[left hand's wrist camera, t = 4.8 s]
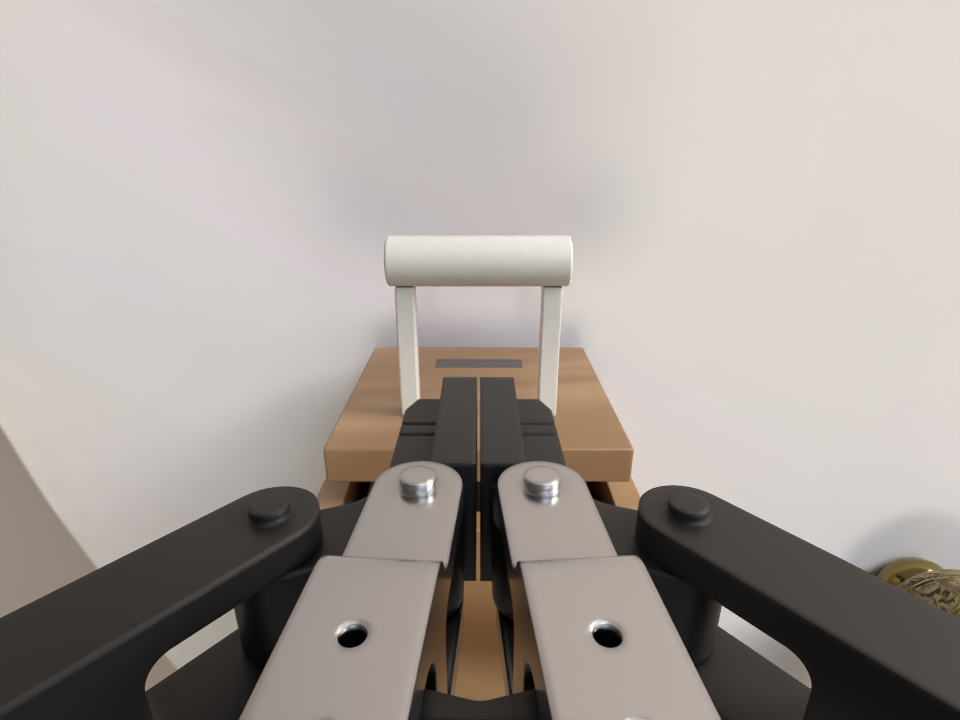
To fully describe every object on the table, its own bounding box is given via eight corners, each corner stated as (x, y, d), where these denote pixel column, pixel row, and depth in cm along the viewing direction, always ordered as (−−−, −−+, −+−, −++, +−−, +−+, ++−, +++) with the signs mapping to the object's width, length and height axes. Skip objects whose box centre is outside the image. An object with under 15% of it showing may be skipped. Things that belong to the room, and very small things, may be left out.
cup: (940, 497, 29) (1097, 619, 22) (993, 585, 31) (1153, 724, 24) (808, 570, 31) (913, 705, 24) (867, 648, 33) (980, 796, 26)
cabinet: (368, 383, 27) (301, 529, 17) (589, 383, 27) (655, 529, 17) (390, 662, 34) (350, 890, 23) (568, 662, 34) (607, 890, 23)
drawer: (364, 210, 23) (299, 249, 15) (592, 210, 23) (656, 249, 15) (394, 631, 32) (363, 810, 23) (563, 631, 32) (594, 810, 23)
